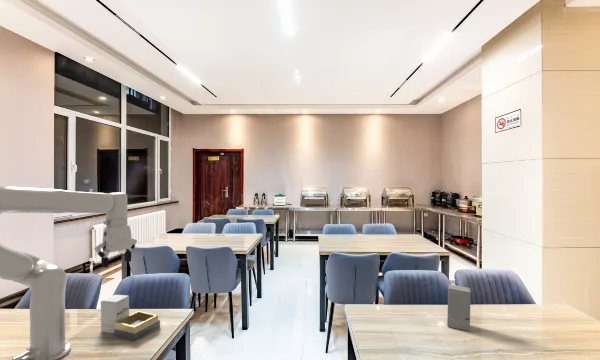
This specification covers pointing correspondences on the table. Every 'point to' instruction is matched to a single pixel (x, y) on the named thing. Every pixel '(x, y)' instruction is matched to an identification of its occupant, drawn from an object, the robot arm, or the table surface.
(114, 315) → the supplement box
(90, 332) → the table surface
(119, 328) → the gold-rimmed shallow tray
